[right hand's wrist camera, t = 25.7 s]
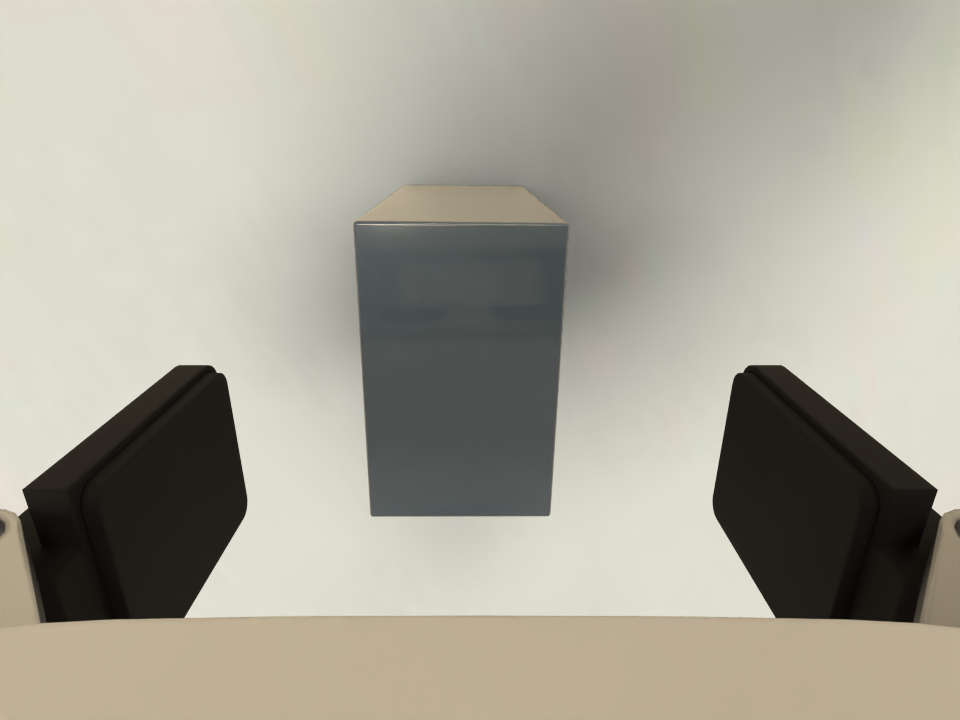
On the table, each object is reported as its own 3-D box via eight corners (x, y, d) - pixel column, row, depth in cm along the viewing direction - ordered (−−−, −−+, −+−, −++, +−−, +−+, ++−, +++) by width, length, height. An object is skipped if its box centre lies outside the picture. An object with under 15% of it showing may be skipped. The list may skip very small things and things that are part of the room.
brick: (408, 364, 26) (370, 517, 16) (403, 184, 24) (352, 221, 13) (516, 365, 26) (550, 517, 16) (523, 186, 24) (569, 223, 13)
